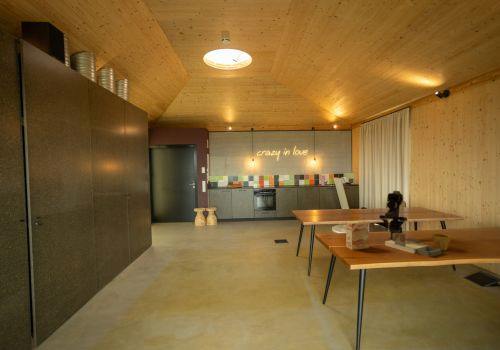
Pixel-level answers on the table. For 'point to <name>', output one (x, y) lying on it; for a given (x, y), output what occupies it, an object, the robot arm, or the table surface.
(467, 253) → the table surface
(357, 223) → the coffeecake box
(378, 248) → the table surface
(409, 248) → the tunnel deck
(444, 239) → the plant pot
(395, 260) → the table surface
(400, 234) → the walnut block
